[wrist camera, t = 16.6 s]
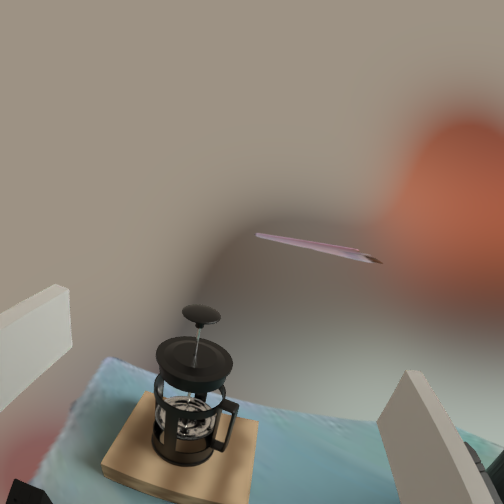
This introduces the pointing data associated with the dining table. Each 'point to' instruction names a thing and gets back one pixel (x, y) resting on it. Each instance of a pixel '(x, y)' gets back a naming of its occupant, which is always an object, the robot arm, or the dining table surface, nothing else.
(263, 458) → the dining table surface
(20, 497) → the digital camera
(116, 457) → the oak base
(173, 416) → the french press
